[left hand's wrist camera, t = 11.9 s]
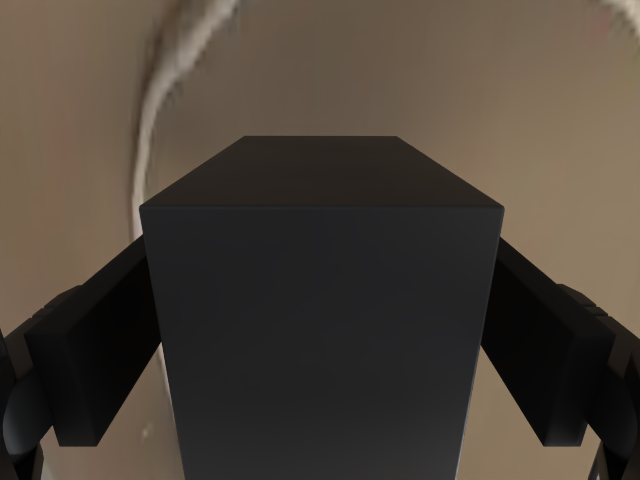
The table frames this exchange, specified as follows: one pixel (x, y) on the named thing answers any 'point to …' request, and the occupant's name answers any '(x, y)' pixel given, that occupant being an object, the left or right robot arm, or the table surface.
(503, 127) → the table surface
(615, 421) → the left robot arm
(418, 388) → the bar
